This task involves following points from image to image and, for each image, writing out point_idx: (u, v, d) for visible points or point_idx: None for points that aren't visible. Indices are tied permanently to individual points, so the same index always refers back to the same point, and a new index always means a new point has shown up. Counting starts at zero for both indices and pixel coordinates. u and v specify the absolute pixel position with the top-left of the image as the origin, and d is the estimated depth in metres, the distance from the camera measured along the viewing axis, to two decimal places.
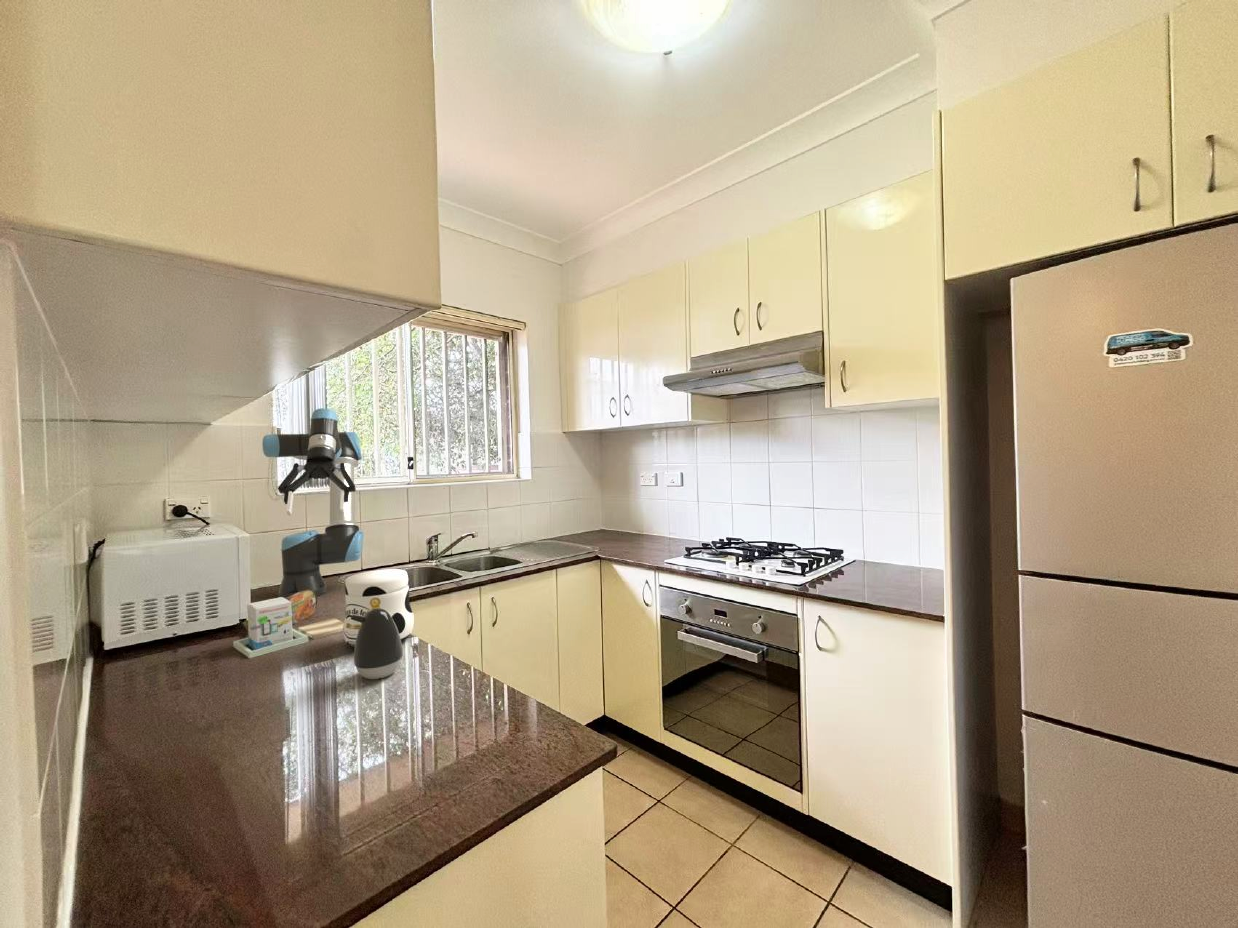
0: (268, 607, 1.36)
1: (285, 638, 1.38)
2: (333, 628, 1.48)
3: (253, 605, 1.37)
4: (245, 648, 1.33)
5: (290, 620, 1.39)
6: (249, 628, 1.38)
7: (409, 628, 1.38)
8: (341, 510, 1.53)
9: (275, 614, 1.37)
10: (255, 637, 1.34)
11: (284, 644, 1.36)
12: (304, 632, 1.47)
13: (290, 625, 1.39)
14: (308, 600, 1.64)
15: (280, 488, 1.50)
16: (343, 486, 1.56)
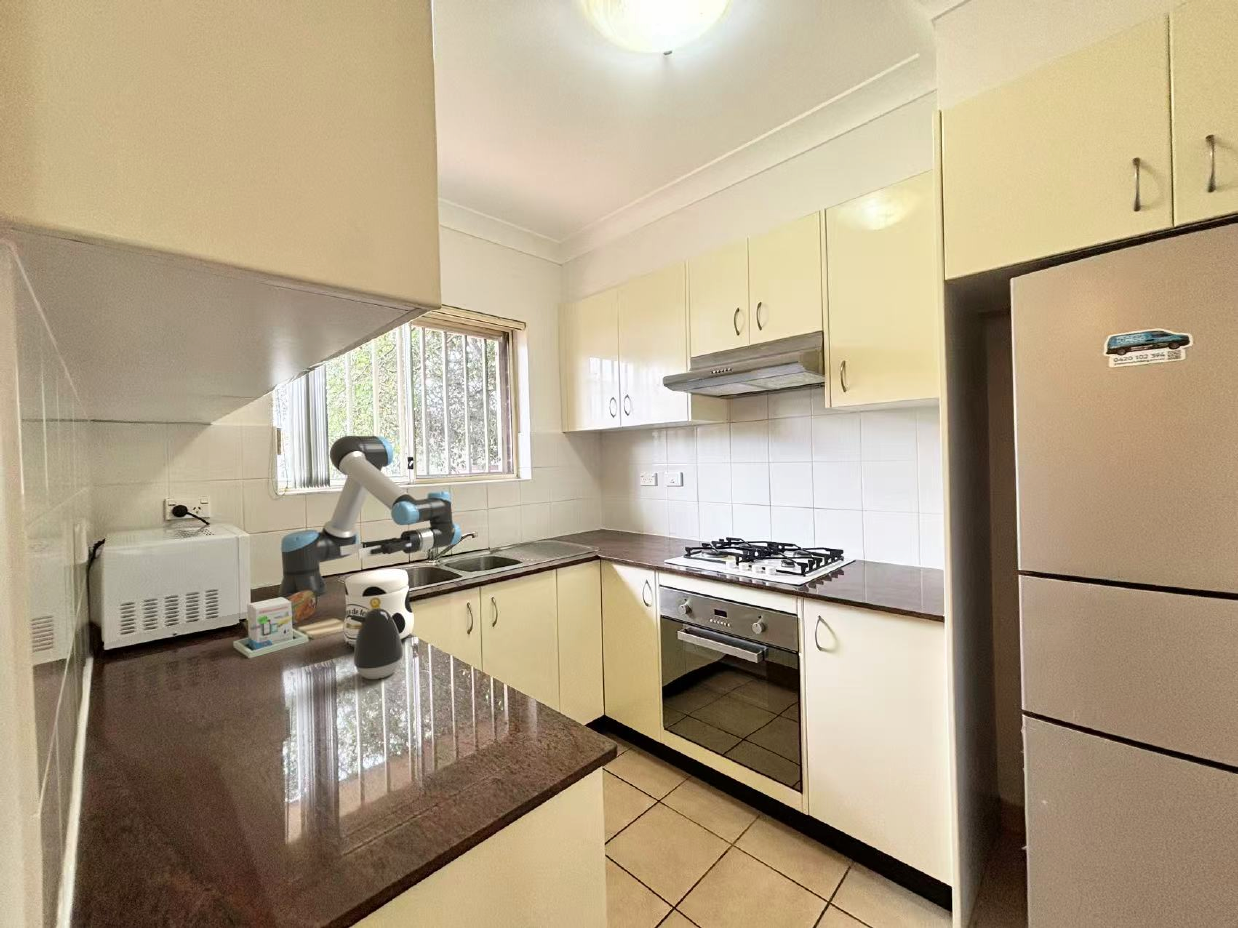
0: (268, 607, 1.36)
1: (285, 638, 1.38)
2: (333, 628, 1.48)
3: (253, 605, 1.37)
4: (245, 648, 1.33)
5: (290, 620, 1.39)
6: (249, 628, 1.38)
7: (409, 628, 1.38)
8: (341, 552, 1.61)
9: (275, 613, 1.37)
10: (255, 637, 1.34)
11: (284, 644, 1.36)
12: (304, 632, 1.47)
13: (290, 625, 1.39)
14: (308, 600, 1.64)
15: None
16: None
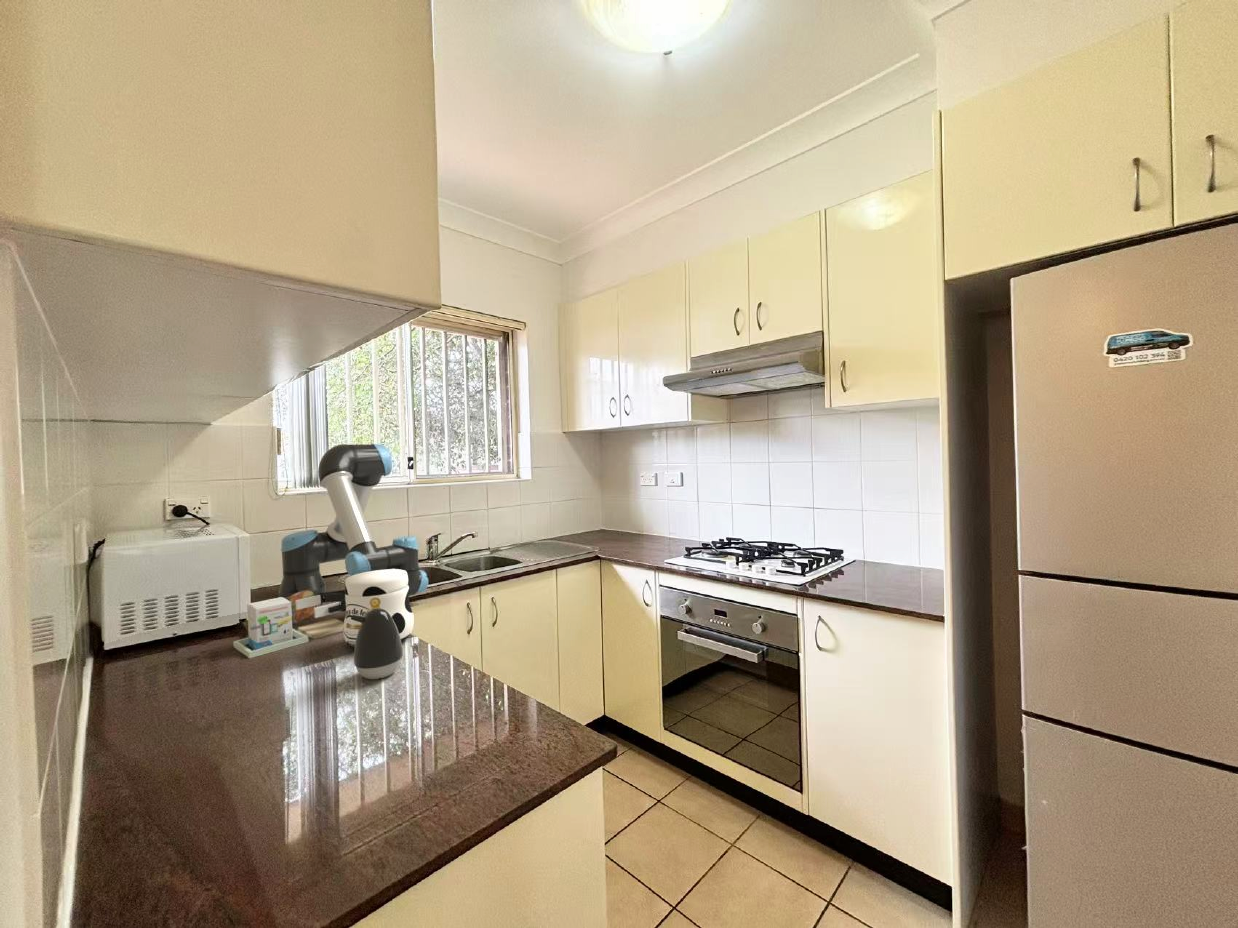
0: (268, 607, 1.36)
1: (285, 638, 1.38)
2: (333, 628, 1.48)
3: (253, 605, 1.37)
4: (245, 648, 1.33)
5: (290, 620, 1.39)
6: (249, 628, 1.38)
7: (409, 628, 1.38)
8: (296, 606, 1.50)
9: (275, 614, 1.37)
10: (255, 637, 1.34)
11: (284, 644, 1.36)
12: (304, 632, 1.47)
13: (290, 625, 1.39)
14: None
15: None
16: None
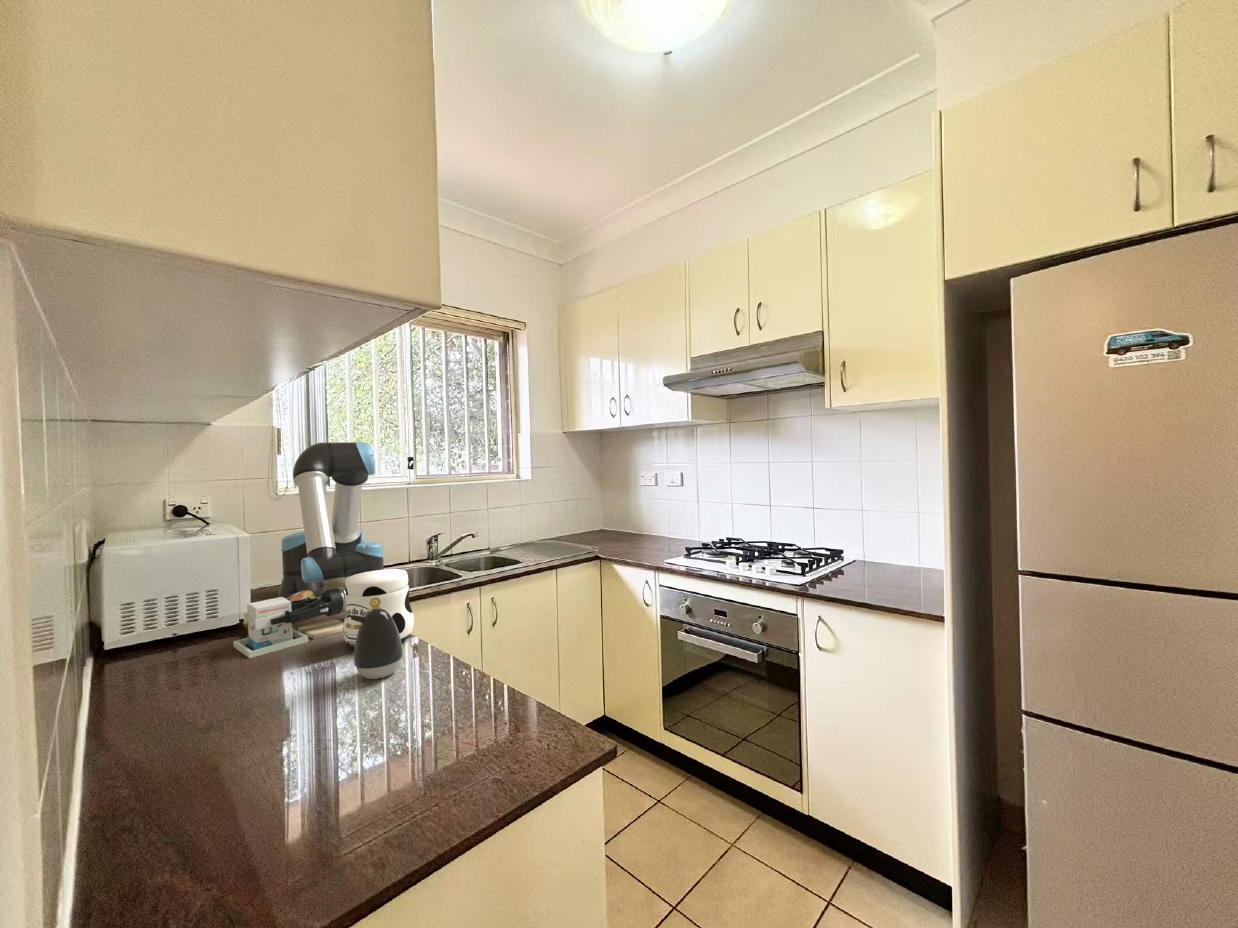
0: (268, 607, 1.36)
1: (285, 638, 1.38)
2: (333, 628, 1.48)
3: (253, 605, 1.37)
4: (245, 648, 1.33)
5: None
6: (249, 628, 1.38)
7: (409, 628, 1.38)
8: (244, 620, 1.39)
9: (275, 613, 1.37)
10: (255, 637, 1.34)
11: (284, 644, 1.36)
12: (304, 632, 1.47)
13: (290, 625, 1.39)
14: None
15: None
16: None
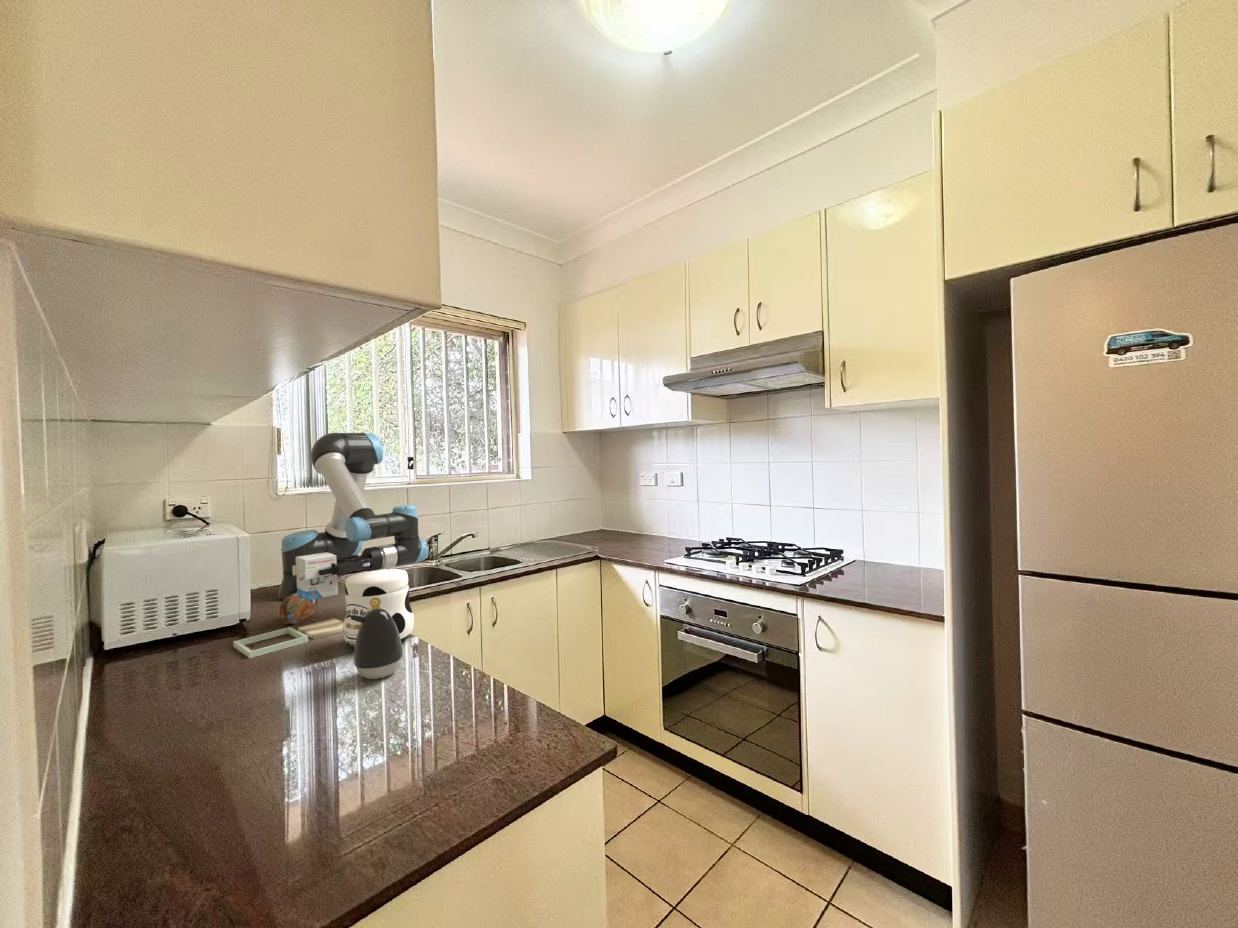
0: (316, 559, 1.45)
1: (331, 589, 1.48)
2: (333, 628, 1.48)
3: (302, 557, 1.46)
4: (245, 648, 1.33)
5: None
6: (298, 579, 1.47)
7: (409, 628, 1.38)
8: (293, 572, 1.48)
9: (322, 565, 1.46)
10: (304, 586, 1.44)
11: (284, 644, 1.36)
12: (304, 632, 1.47)
13: (335, 577, 1.49)
14: (308, 600, 1.64)
15: None
16: None
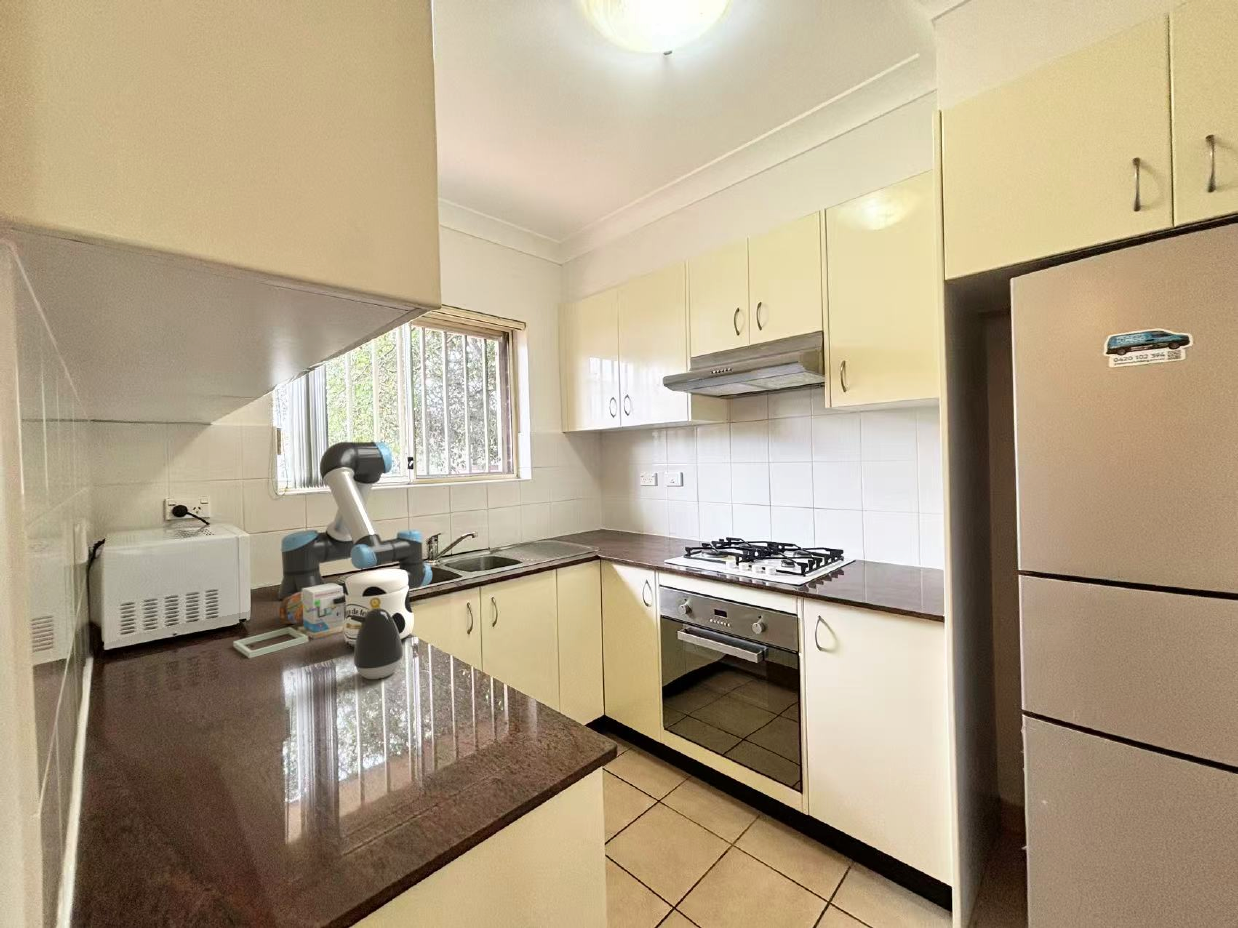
0: (323, 591, 1.46)
1: (338, 620, 1.49)
2: (333, 628, 1.48)
3: (308, 589, 1.47)
4: (245, 648, 1.33)
5: None
6: (304, 611, 1.48)
7: (409, 628, 1.38)
8: (301, 598, 1.52)
9: None
10: (311, 619, 1.45)
11: (284, 644, 1.36)
12: (304, 632, 1.47)
13: (341, 608, 1.50)
14: None
15: None
16: None
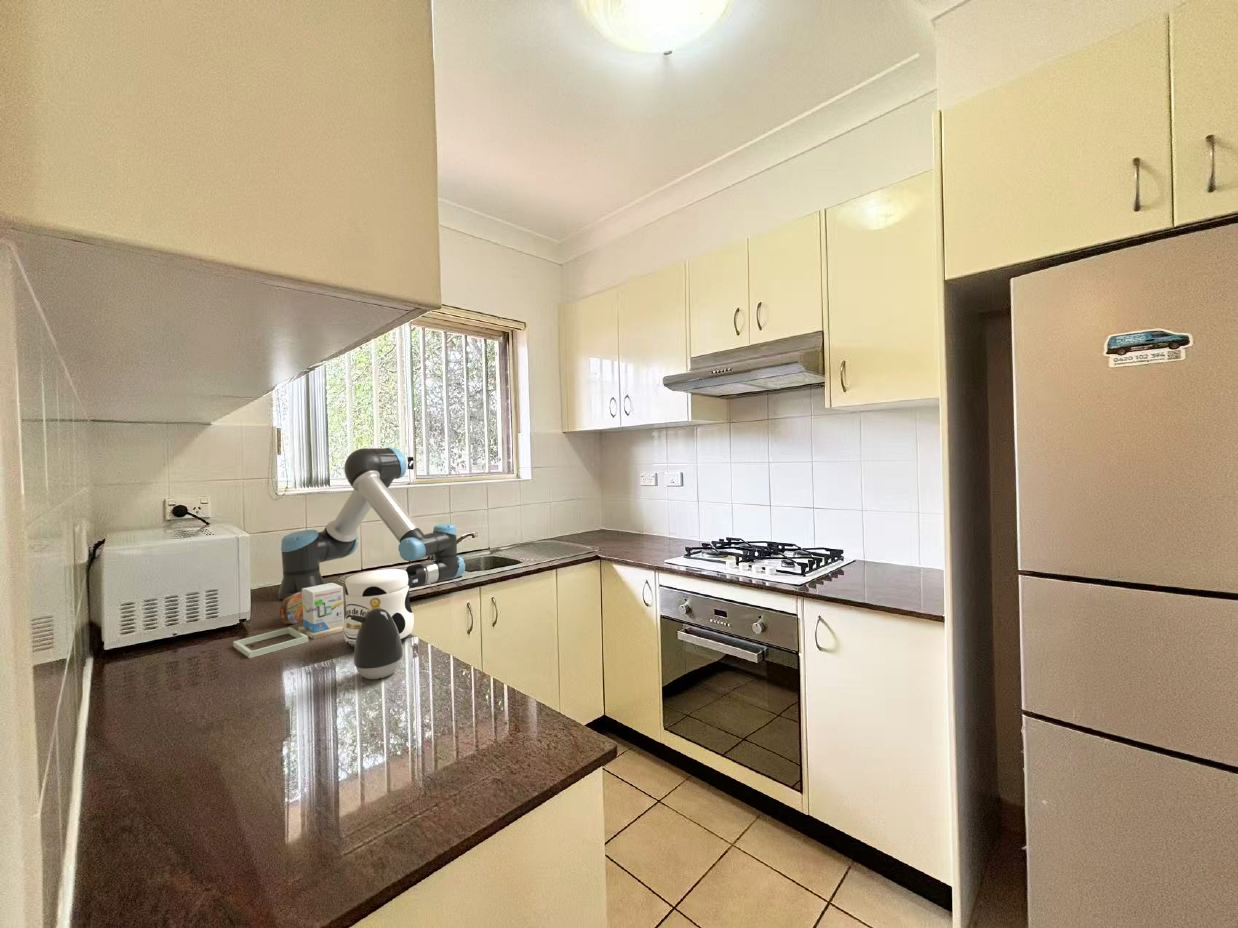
0: (323, 591, 1.46)
1: (338, 620, 1.49)
2: (333, 628, 1.48)
3: (308, 589, 1.47)
4: (245, 648, 1.33)
5: (342, 603, 1.50)
6: (304, 611, 1.48)
7: (409, 628, 1.38)
8: None
9: (329, 597, 1.47)
10: (311, 619, 1.45)
11: (284, 644, 1.36)
12: (304, 632, 1.47)
13: (341, 608, 1.50)
14: None
15: None
16: None
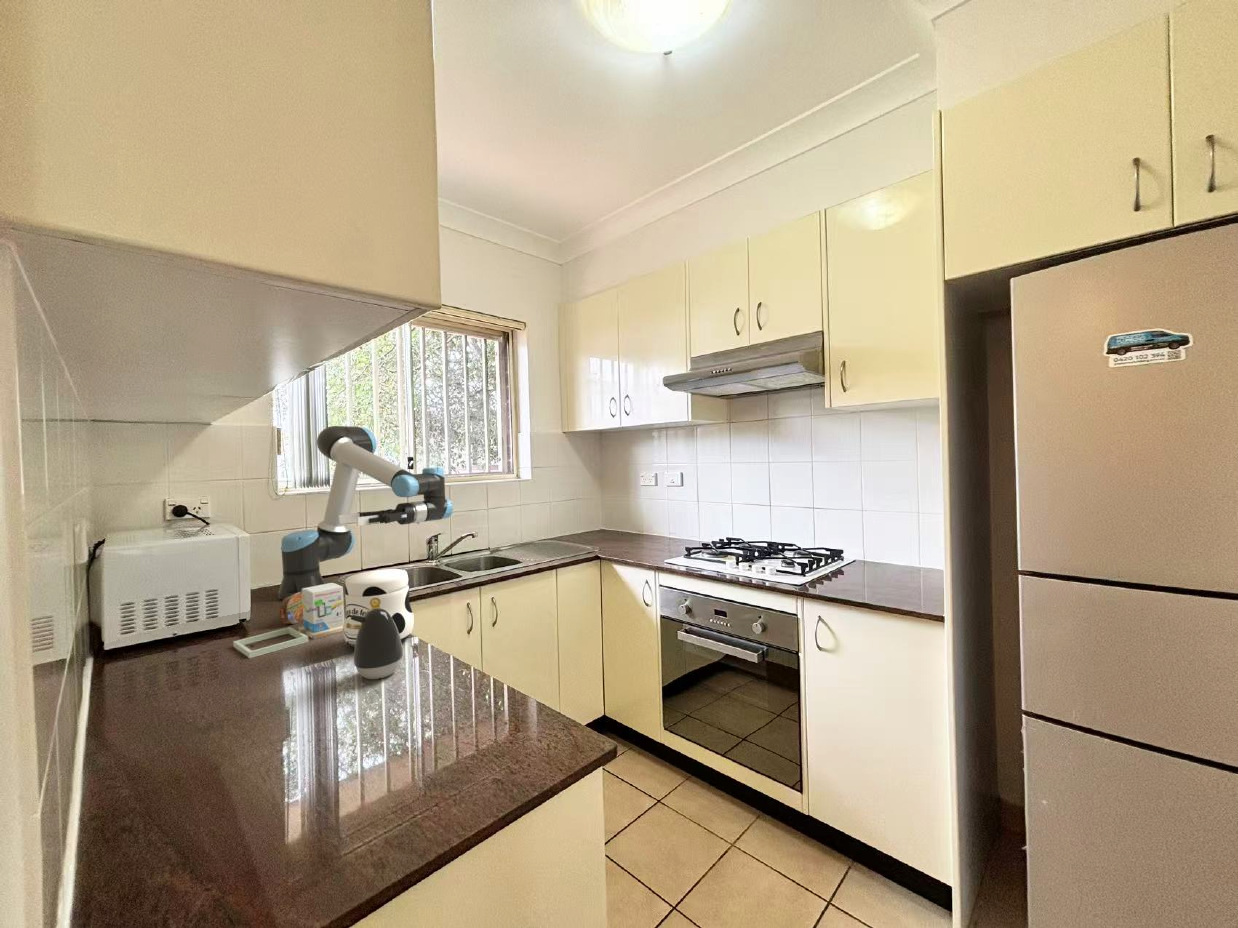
0: (323, 591, 1.46)
1: (338, 620, 1.49)
2: (333, 628, 1.48)
3: (308, 589, 1.47)
4: (245, 648, 1.33)
5: (342, 603, 1.50)
6: (304, 611, 1.48)
7: (409, 628, 1.38)
8: (339, 520, 1.69)
9: (329, 597, 1.47)
10: (311, 619, 1.45)
11: (284, 644, 1.36)
12: (304, 632, 1.47)
13: (341, 608, 1.50)
14: None
15: None
16: None
